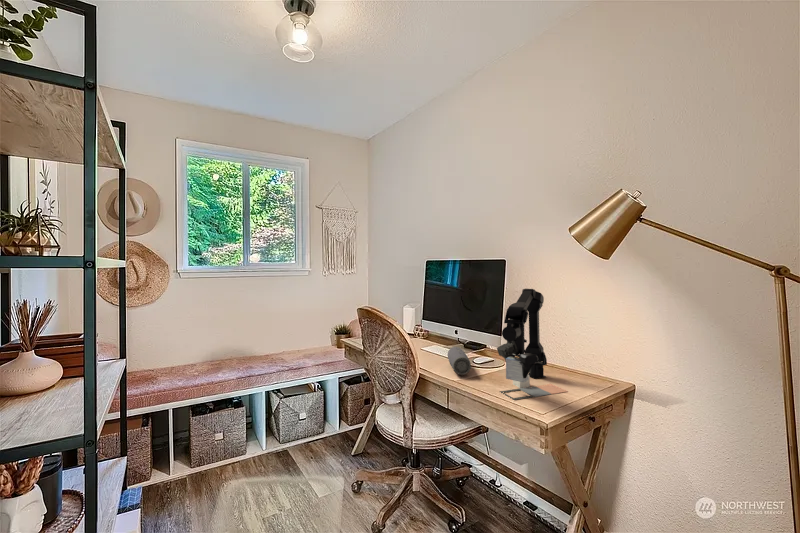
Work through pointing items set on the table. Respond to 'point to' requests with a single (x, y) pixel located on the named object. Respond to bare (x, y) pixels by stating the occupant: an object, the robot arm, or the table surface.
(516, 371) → the medicine box
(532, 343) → the robot arm
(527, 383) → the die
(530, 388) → the game mat
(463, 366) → the bluetooth speaker
